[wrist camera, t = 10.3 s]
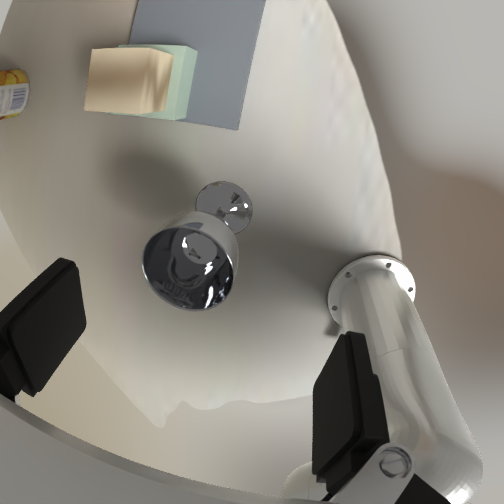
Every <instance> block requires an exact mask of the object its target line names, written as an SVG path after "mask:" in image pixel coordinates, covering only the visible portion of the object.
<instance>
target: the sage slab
mask: <svg viewBox="0 0 504 504" xmlns="http://www.w3.org/2000/svg"><path fill="white" fill-rule="evenodd" d="M118 48H152V49H155V50H159V51H162V52H166V53H169V54H172V55H174V60H173V65H172V71H171V76H170V82H169V88H168V94H167V100H166V107H165V111H159V112H152V113H145V114H139V115H138V114H127V113H114V112H108V114H119V115H130V116H141V117H150V118H159V119H167V120H177V119H182V118H186V114H187V108H188V102H189V96H190V90H191V85H192V79H193V74H194V69H195V64H196V59H197V54H198V51H196V50H194V49H192V48H190V47H188V46H178V45H118Z"/></svg>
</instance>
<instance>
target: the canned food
mask: <svg viewBox="0 0 504 504" xmlns="http://www.w3.org/2000/svg"><path fill="white" fill-rule="evenodd" d="M29 91H30V86H29V80H28V77H27V75H26V73H25V72H24V71H22V70H6V71H0V120H2V119H6V118H10V117H15V116H17V115H19V114H20V113H21V112H22V111H23V109H24V108H25V106H26V104H27V101H28V97H29Z"/></svg>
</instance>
